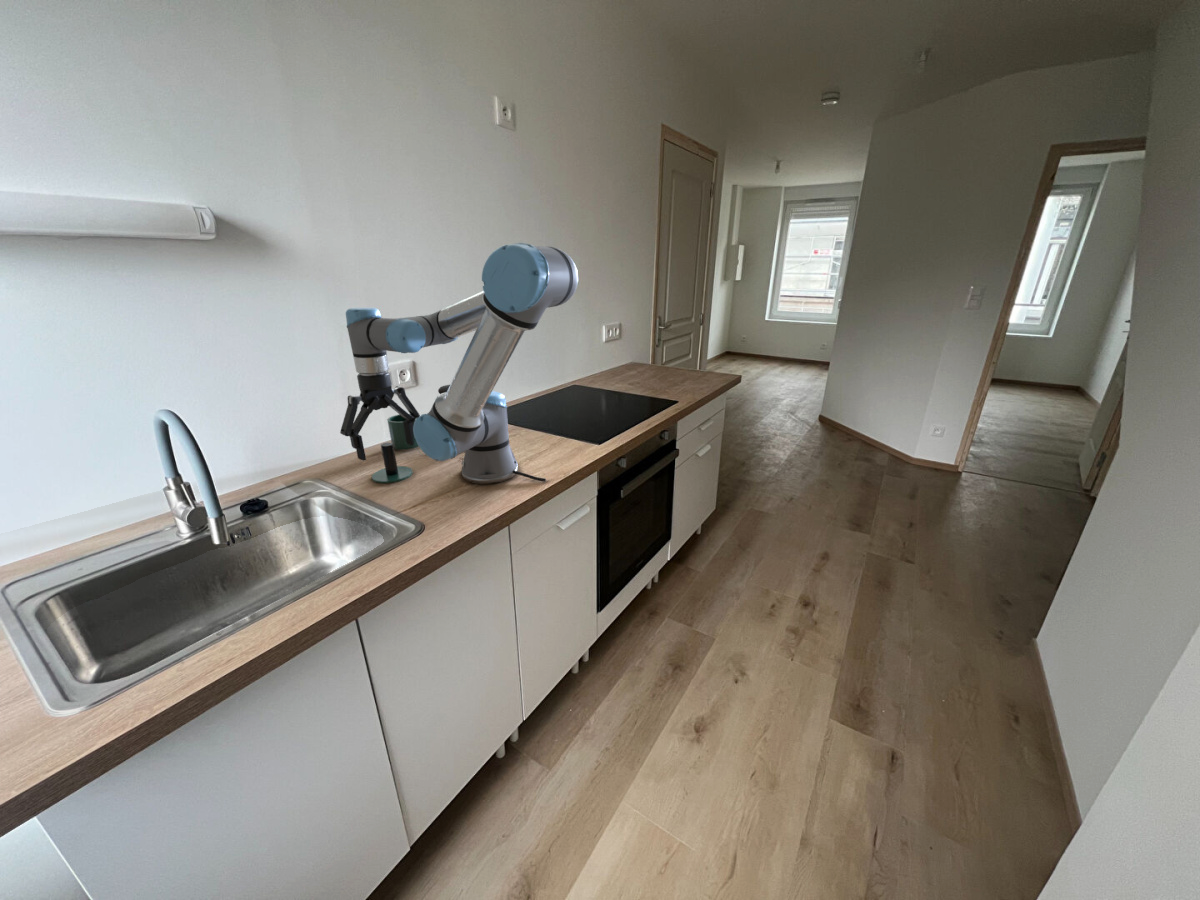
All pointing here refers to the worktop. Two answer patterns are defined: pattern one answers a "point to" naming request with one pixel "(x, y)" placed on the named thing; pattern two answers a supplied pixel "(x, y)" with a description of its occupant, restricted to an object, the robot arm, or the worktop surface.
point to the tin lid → (391, 467)
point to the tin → (399, 433)
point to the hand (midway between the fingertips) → (387, 451)
